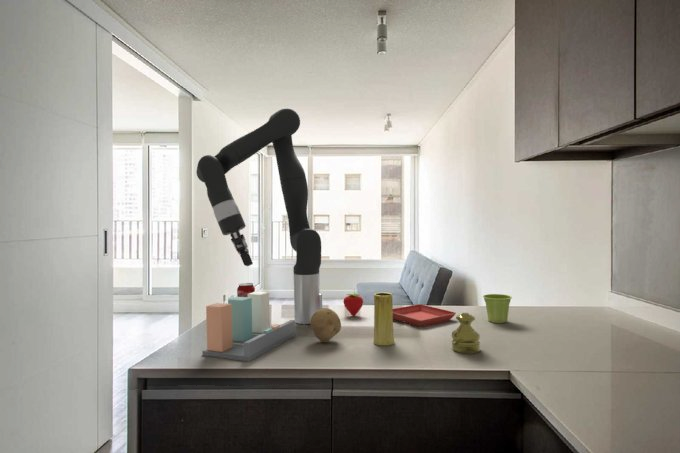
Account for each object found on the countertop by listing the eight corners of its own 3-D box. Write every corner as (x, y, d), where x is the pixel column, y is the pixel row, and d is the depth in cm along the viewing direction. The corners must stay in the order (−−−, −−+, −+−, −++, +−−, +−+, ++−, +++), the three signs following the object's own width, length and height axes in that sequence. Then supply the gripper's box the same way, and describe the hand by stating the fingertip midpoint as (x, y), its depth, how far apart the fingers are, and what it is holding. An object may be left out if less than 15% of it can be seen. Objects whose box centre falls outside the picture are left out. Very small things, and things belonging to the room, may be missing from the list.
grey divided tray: (202, 355, 110) (202, 335, 109) (255, 331, 133) (254, 314, 133) (248, 361, 104) (248, 340, 104) (295, 335, 127) (295, 317, 127)
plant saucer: (457, 321, 142) (457, 312, 142) (420, 329, 132) (420, 319, 132) (420, 312, 157) (419, 303, 157) (384, 319, 147) (384, 310, 147)
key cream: (248, 331, 127) (247, 293, 127) (256, 328, 132) (255, 291, 131) (261, 333, 125) (261, 294, 125) (269, 329, 130) (268, 292, 129)
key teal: (228, 340, 119) (227, 299, 119) (238, 336, 123) (237, 296, 123) (243, 341, 117) (242, 300, 117) (252, 337, 121) (251, 297, 121)
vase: (396, 340, 119) (395, 292, 119) (392, 346, 114) (391, 296, 113) (376, 339, 121) (375, 291, 121) (371, 345, 116) (370, 295, 115)
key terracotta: (206, 349, 110) (205, 306, 110) (217, 345, 114) (216, 302, 114) (222, 351, 108) (221, 307, 108) (232, 346, 112) (231, 304, 112)
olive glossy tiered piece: (476, 356, 105) (476, 317, 105) (448, 351, 109) (447, 314, 109) (483, 348, 111) (482, 311, 111) (456, 344, 115) (455, 309, 115)
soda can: (251, 316, 153) (250, 285, 153) (234, 316, 154) (233, 285, 154) (258, 312, 160) (257, 282, 160) (242, 312, 161) (241, 282, 161)
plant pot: (482, 323, 137) (482, 298, 137) (483, 317, 146) (483, 293, 145) (512, 325, 133) (512, 299, 133) (511, 319, 142) (511, 294, 142)
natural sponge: (327, 335, 126) (326, 303, 126) (347, 341, 120) (347, 307, 120) (304, 342, 120) (304, 308, 120) (325, 348, 113) (324, 313, 113)
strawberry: (344, 313, 155) (344, 287, 155) (364, 314, 154) (363, 288, 154) (342, 317, 149) (341, 290, 149) (362, 317, 148) (362, 290, 148)
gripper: (238, 209, 120) (259, 259, 119) (242, 216, 134) (261, 260, 133) (214, 218, 118) (235, 269, 118) (220, 224, 132) (239, 270, 132)
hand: (249, 265), depth 125 cm, fingers open, 8 cm apart
